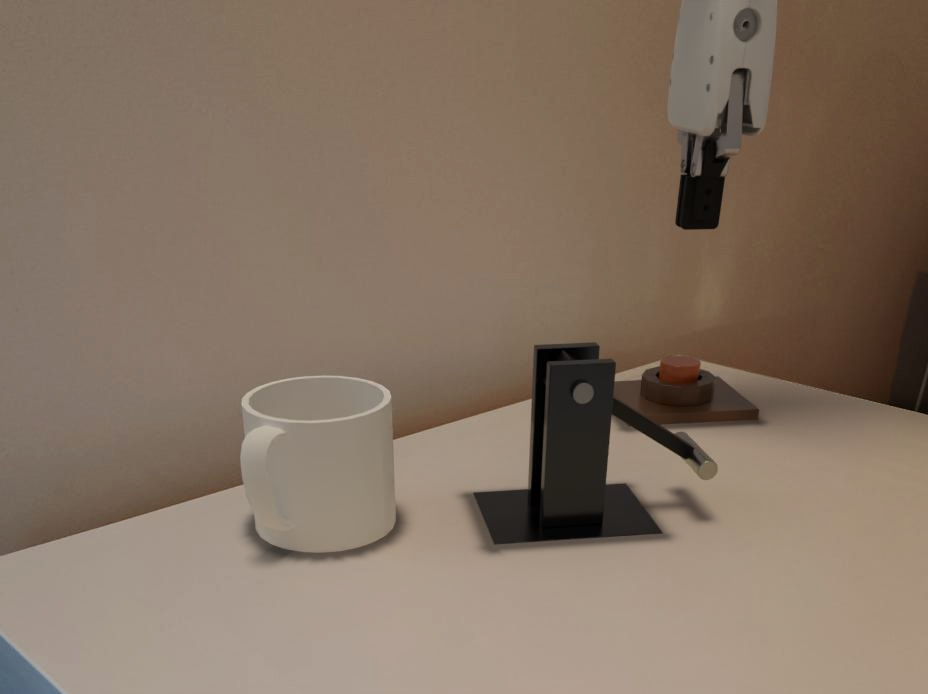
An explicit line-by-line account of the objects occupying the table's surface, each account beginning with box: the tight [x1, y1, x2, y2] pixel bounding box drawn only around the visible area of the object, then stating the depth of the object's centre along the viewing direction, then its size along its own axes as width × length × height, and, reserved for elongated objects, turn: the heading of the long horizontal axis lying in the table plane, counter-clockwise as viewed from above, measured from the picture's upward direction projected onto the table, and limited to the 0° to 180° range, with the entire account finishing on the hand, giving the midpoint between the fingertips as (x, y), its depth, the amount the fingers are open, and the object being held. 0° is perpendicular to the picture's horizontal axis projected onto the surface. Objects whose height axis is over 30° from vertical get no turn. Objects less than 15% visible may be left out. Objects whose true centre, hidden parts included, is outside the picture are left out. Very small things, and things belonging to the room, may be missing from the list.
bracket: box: [472, 341, 664, 546], centre depth 70 cm, size 12×9×13 cm
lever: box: [543, 350, 719, 481], centre depth 70 cm, size 13×6×2 cm
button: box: [659, 355, 702, 383], centre depth 91 cm, size 4×4×2 cm
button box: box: [613, 365, 760, 427], centre depth 93 cm, size 12×10×4 cm
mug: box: [239, 374, 397, 554], centre depth 69 cm, size 13×10×10 cm
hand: (696, 227), depth 83 cm, fingers closed
